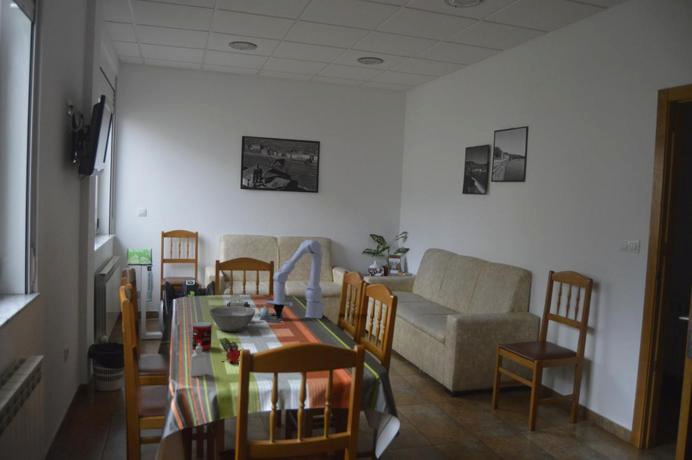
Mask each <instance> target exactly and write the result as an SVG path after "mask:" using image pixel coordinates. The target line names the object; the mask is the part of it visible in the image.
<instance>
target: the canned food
mask: <svg viewBox="0 0 692 460" xmlns="http://www.w3.org/2000/svg"><path fill="white" fill-rule="evenodd" d="M212 329H213V326H212V323H211V322H209V321H197V322H193V323H192V337H191V338H192V341H191V343H192V345H191V346H192V347H191V348H192V349H193V351H196V347H197V346H198V343H200V346H201V347H202V350H206V351H209V350H210V349H211V348H212ZM208 349H209V350H208Z"/></svg>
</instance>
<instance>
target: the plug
mask: <svg viewBox="0 0 692 460" xmlns="http://www.w3.org/2000/svg"><path fill="white" fill-rule="evenodd" d="M259 310H260V313H259V314H260V316H259V320H261V321H267V318H268V317H274V318H277V316H268V313H270V312H269V310H270V309H269V307H267V305H264V306H263V307H260V308H259Z"/></svg>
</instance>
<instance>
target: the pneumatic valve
mask: <svg viewBox="0 0 692 460" xmlns="http://www.w3.org/2000/svg"><path fill="white" fill-rule="evenodd" d="M226 306H241V307H248V308H251V304H250V303H249V302H248V301H244V300H240V299H237V300H230V301H229V302H227V303H226Z"/></svg>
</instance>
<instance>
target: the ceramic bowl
mask: <svg viewBox="0 0 692 460" xmlns="http://www.w3.org/2000/svg"><path fill="white" fill-rule="evenodd" d="M208 310H209V311H208V312H209V314H210V316H211V318H212V320H213V322H214V323H215V324H216V326H218V328H219V329H220V330H223V331H225V332H241V331H244V330H245V329H247V328H248V325H249V324H250V322H251V321H252V320H253V318H254V316H255V313H256V310H255V309H254V308H252V307H250V308H248V307H241V306H227V305H224V306H215V307H212V308H210V309H208Z"/></svg>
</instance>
